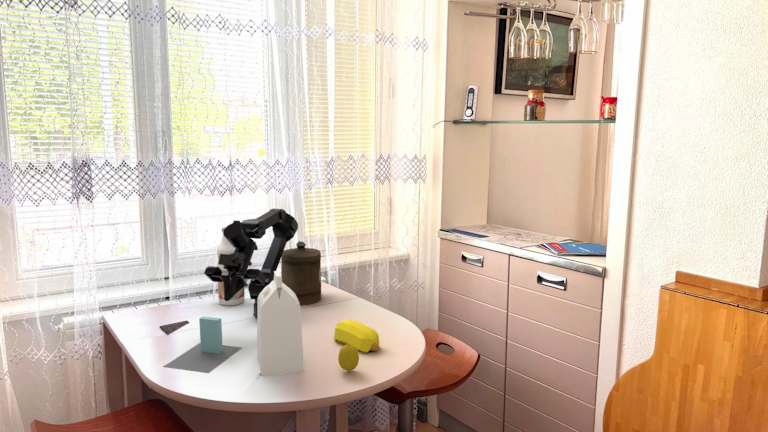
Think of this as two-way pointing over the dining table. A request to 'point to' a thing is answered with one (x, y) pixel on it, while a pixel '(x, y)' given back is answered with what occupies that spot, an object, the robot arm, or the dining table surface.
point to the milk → (279, 329)
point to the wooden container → (302, 272)
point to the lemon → (348, 357)
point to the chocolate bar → (173, 327)
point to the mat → (202, 359)
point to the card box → (211, 334)
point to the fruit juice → (226, 249)
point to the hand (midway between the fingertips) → (226, 300)
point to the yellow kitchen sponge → (357, 335)
